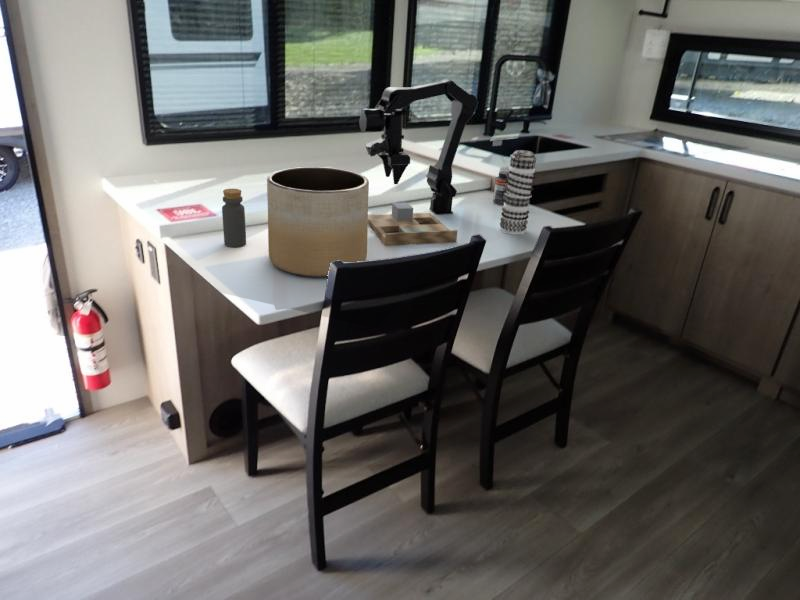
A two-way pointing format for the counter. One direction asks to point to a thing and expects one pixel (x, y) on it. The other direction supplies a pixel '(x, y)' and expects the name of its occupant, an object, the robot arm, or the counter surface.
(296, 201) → the planter
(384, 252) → the counter surface
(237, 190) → the bottle
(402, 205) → the block
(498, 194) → the supplement bottle
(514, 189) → the decorative candle
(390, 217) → the wooden compartment tray
